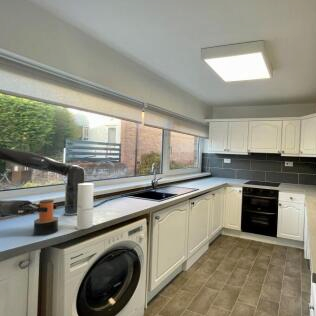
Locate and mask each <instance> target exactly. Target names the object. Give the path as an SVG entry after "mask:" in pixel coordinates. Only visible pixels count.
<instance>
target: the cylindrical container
mask: <svg viewBox="0 0 316 316" xmlns="http://www.w3.org/2000/svg"><path fill="white" fill-rule="evenodd" d="M94 186H95V184H94V183H93V182H84V183H82V184H78V203H77V214H76V229H77V230H87V229H90V228H92V227H93V222H94V221H93V219H94V218H93V217H94V207H93V206H94V192H95V187H94Z"/></svg>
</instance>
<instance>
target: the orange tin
mask: <svg viewBox="0 0 316 316" xmlns="http://www.w3.org/2000/svg"><path fill="white" fill-rule="evenodd" d="M54 202H55V200H54V199H52V198H51V199H50V198H49V199H41V200H39V204H40V207H47V208H48V211H47V212H38V213H39V215H38V219H39V221H47V220H51V219H53V217H54V209H53V205H54Z"/></svg>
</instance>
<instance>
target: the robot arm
mask: <svg viewBox="0 0 316 316" xmlns="http://www.w3.org/2000/svg"><path fill="white" fill-rule="evenodd" d="M0 161H3V162H5V163H9V164H12V165H16V166H20V167H23V168H26V169H31V170H35V171H39V172H40V171H41V172H47V173H55V174H58V175H61V176H63V177H66V178H67V179H66V184H65V191H64V192H65V193H64V196H65V197H64V209H63V210H64V213H63V214H64V215H65V216H75V215H76V216H77V203H78V184H82V183H85V176H86V175H85V173H86V171H85V169H84V168H83V167H82V166H80V165H76V164H69V163H64V162H60V161H58V160H55V159H52V158H50V157H49V156H44V155H42V154H38V153H35V152H31V151H26V150H21V149H19V150H18V149H12V148H7V147H4V146H1V145H0ZM130 195H132V192H129V194H125V195H121V196H116V197H112V198H108V199H105V200H103V201H101V202H100V203H98V204H95V205H93V208H96V207H99V206H100V205H102V204H103V203H105V202H107V201H111V200H115V199H119V198H124V197H128V196H130ZM57 209H58V205H57V204H53V210H57ZM47 211H48V208H47V207H40V203H37V202H34V203H33V202H32V201H30V200H27V199H26V200H22V199H21V200H19V199H14V200H13V199H12V200H0V215H6V216H26V215H28V214H29V215H32V214H35V213H36V214H37V213H39V212H47Z"/></svg>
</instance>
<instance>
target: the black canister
mask: <svg viewBox="0 0 316 316" xmlns="http://www.w3.org/2000/svg"><path fill="white" fill-rule="evenodd" d="M58 230H59V217H58V216H53V219H51V220H47V221H39V218H37V219H34V220H33V236H36V237H42V236H49V235H53V234H55V233H57V232H58Z"/></svg>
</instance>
